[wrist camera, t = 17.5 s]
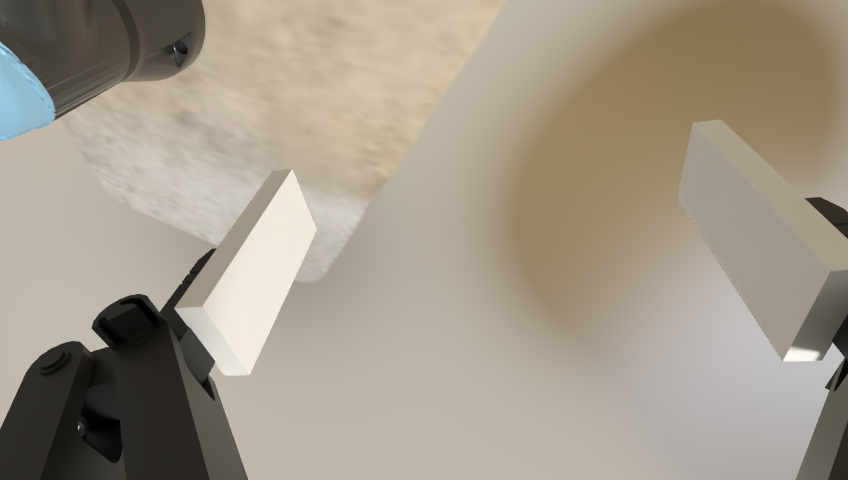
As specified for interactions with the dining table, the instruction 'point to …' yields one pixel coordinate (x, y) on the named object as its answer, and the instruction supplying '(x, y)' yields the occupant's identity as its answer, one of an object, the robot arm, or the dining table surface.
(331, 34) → the dining table surface
